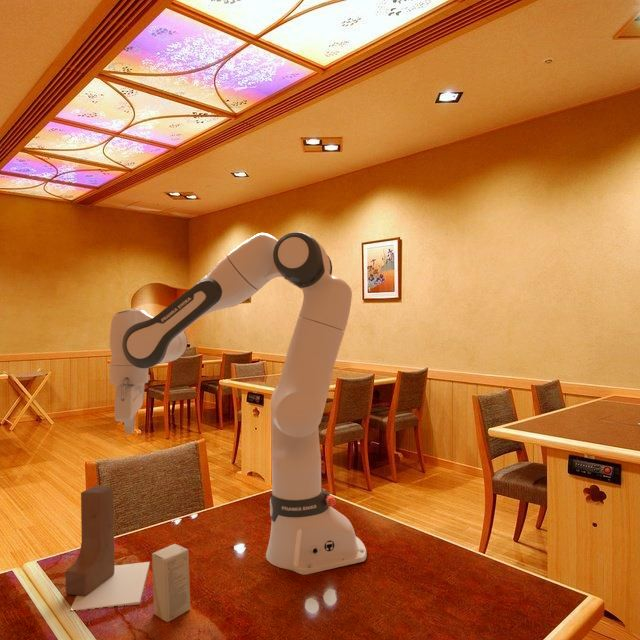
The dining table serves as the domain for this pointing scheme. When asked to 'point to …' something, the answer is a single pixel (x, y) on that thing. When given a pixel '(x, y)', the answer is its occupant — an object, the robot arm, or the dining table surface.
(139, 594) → the mat
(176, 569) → the box
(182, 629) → the dining table surface
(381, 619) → the dining table surface
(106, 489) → the wooden block
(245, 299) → the robot arm
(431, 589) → the dining table surface
